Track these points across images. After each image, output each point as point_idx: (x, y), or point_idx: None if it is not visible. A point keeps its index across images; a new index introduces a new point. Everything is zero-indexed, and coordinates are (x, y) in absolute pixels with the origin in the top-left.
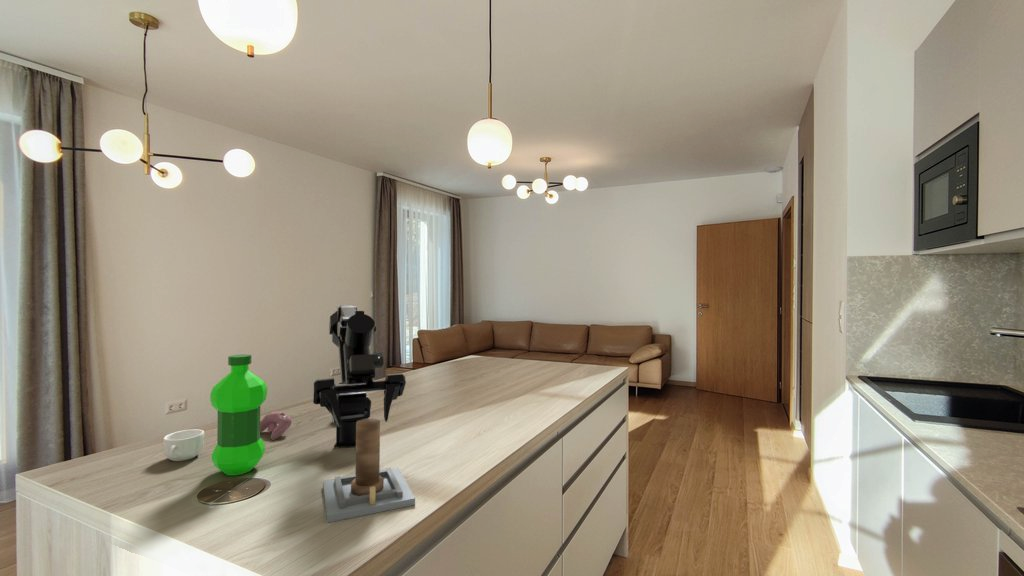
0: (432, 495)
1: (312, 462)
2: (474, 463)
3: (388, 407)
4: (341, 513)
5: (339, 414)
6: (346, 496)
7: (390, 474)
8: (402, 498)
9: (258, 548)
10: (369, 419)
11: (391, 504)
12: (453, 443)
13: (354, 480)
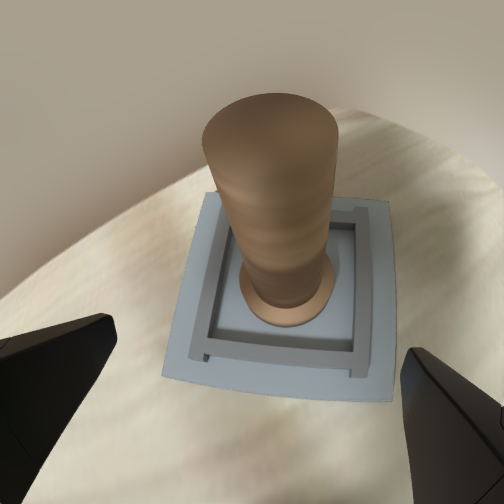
0: (161, 222)
1: None
2: (26, 318)
3: (42, 332)
4: (361, 199)
5: (441, 384)
6: (345, 267)
7: (207, 309)
8: None
9: (473, 190)
10: (248, 158)
11: None
12: None
13: (320, 297)
